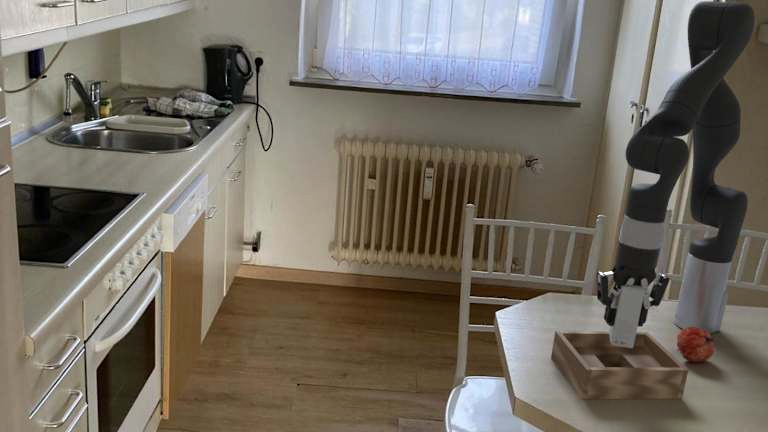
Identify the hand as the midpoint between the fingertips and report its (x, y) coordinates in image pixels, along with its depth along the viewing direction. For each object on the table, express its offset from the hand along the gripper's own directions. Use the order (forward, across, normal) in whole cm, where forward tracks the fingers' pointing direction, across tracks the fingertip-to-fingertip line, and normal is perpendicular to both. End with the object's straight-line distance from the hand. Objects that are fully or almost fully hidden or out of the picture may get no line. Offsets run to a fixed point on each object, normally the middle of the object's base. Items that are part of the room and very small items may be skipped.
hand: (623, 324), depth 149 cm
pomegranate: (+12, -21, -8) cm, 25 cm away
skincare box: (+4, 0, 0) cm, 4 cm away
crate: (+11, 0, 0) cm, 11 cm away
